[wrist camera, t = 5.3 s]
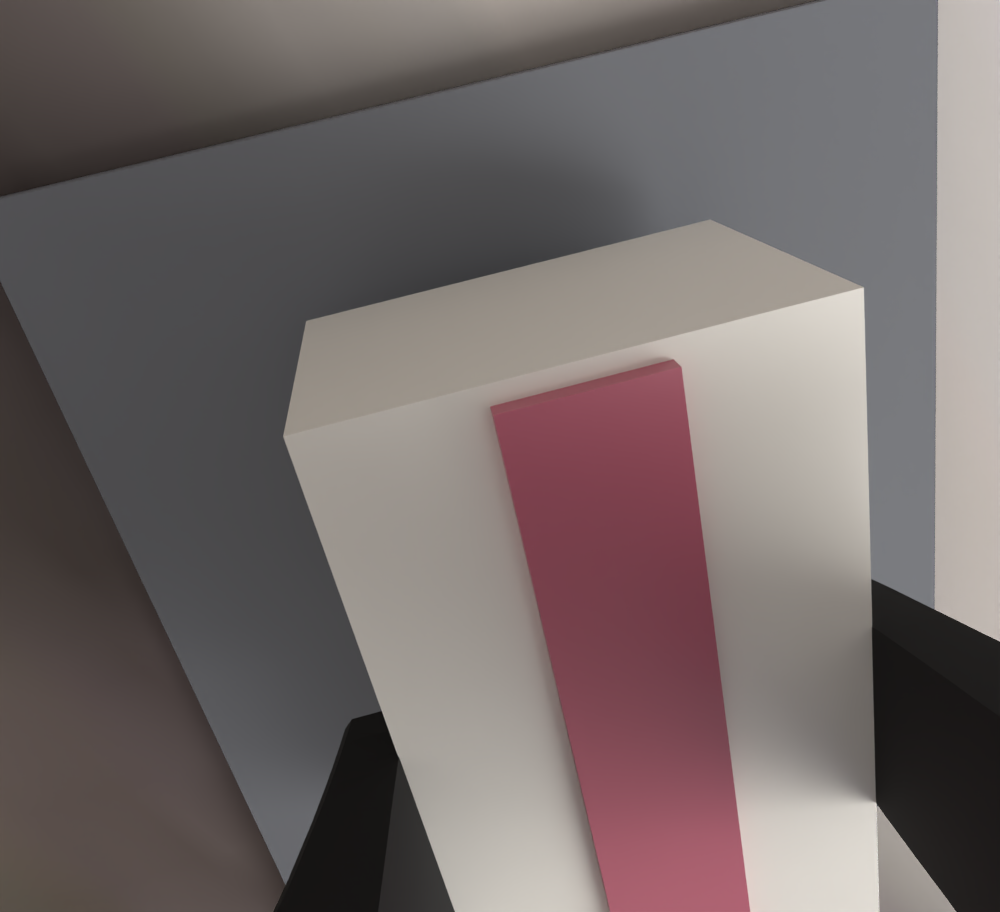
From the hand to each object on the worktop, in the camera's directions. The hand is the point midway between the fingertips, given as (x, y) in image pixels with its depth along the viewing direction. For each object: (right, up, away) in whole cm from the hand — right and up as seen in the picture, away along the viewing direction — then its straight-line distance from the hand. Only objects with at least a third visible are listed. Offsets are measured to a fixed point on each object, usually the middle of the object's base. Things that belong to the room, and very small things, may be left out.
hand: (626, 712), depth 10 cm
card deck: (0, +1, +2) cm, 2 cm away
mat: (-1, +2, +4) cm, 4 cm away
